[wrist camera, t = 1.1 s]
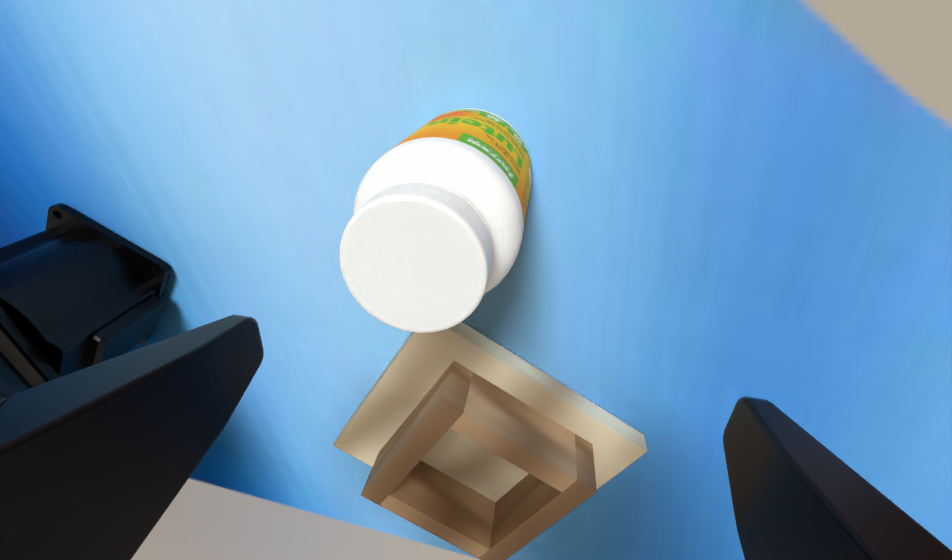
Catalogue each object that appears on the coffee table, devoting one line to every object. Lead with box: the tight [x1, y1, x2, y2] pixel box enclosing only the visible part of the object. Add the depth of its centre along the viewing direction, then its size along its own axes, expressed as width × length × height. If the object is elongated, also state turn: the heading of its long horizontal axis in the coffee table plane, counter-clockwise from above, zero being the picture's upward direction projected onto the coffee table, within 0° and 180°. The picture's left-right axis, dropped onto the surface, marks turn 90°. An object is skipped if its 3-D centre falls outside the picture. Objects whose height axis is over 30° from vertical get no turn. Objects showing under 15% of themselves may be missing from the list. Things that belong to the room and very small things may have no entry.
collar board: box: [333, 322, 648, 560], centre depth 26 cm, size 14×12×4 cm
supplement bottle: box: [340, 108, 532, 333], centre depth 16 cm, size 5×5×10 cm
